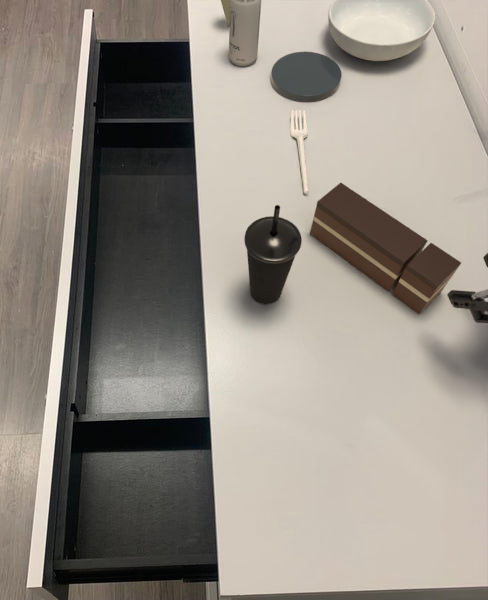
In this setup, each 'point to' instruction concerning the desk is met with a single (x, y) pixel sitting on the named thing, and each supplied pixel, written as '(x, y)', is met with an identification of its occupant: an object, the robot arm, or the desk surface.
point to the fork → (300, 143)
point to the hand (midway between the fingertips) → (469, 279)
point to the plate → (306, 76)
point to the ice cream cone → (226, 10)
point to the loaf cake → (365, 235)
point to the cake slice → (425, 277)
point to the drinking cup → (270, 255)
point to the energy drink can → (244, 31)
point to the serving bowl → (380, 26)
